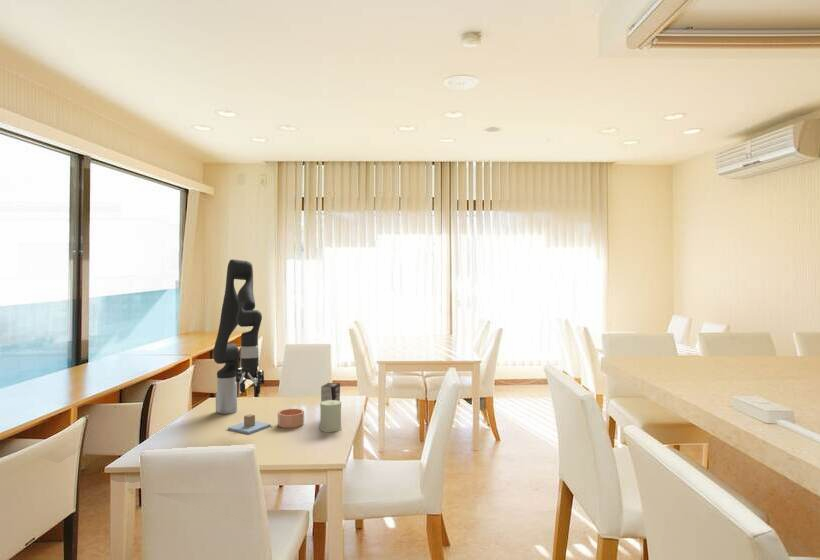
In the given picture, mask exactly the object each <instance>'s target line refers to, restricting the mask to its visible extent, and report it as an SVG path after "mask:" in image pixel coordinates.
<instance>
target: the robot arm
mask: <svg viewBox="0 0 820 560" xmlns="http://www.w3.org/2000/svg"><path fill="white" fill-rule="evenodd" d="M225 278H226V280H225V289H224V294H223V295H224V296H223V302H222V306H221V307H222V308H221V310H220V311H221V313H220V320H219V327H218V331H217V334H216V340H215V343H214V346H213V352H212V357H213V360H214V362H215V363H216V364H219V365H220V364H221V365H222V364H224V366H223V367H222V368H220V369H219V370H217V373H216V392H215V412H216V413H217V414H221V415H229V414H234V413H236V412H237V411H238V385H239V392H240V393H245V392H246V382H247V380H249V381H251V382H252V383H253V384H254V395H259V394H260V393H261V385H264V384H265V373H264V370H262V369H261V370H259V369H258V368H259V365H260V364H259V363H260V362H259V361H260V360H259V358H260V357H259V355H260V352H259V340H258V339H259V331H260V327H261V324H262V320H263V314H262V312H261V311H260V310H258V309H255V308H256V300H255V295H254V268H253V264H252V262H251V261H248V260H241V259H230V260H229V262H228V263H227V270H226V277H225ZM235 280H240V281H245V282H244V284H243V285H242V286H241V287H240V288H239V291H238V292H237V291H236V287H235ZM237 326H239V327H242V328H243V327H244V328H245V327H246V328H247V327H248V328H249V327H252V328H251V330H248V331H244V332H242V333H241V335H240V351H239V347H238V345H237V344H236V343H232V342H230V343H228V342H229V340H230V337H231V335H232V333H233V332H234V331H235V330H236V328H237ZM239 362H240V366H239Z"/></svg>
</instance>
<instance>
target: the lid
mask: <svg viewBox="0 0 820 560" xmlns="http://www.w3.org/2000/svg"><path fill="white" fill-rule="evenodd" d="M270 426H272V425H271V423H267V422H263V421H262V422H261V421H257V420H256V415H255V414H251V413H249V414H246V415H244V416H243V422H240V423H238V424H234V425H231V426H228V427H227V429H228V430H232V431H237V432H241V433H240V434H242V433H246V434H245V435H247V434H251V433H253V434H255V433H254V432H256V431H259V430H261V431H263V430H262V429H264V430H266V429H265V428H267V427H269V428H271V427H270ZM267 429H268V428H267ZM232 431H231V432H232ZM237 432H236V433H237ZM259 432H260V431H259ZM256 433H257V432H256ZM251 435H252V434H251Z"/></svg>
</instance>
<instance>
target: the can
mask: <svg viewBox="0 0 820 560" xmlns="http://www.w3.org/2000/svg"><path fill="white" fill-rule="evenodd" d="M319 404H320V405H319V406H320V408H319V409H320V424H319V425H320V427H319V429H320V431H321V432H325V433H333V432H334V431H335V432H338V431H341V430H342V401H341V400H340V401H338V400H326V401H322V402H321V401H320V403H319ZM340 429H341V430H340Z"/></svg>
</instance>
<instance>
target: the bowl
mask: <svg viewBox="0 0 820 560" xmlns="http://www.w3.org/2000/svg"><path fill="white" fill-rule="evenodd" d="M304 423H305V410H304V409H301V408H287V409H285V408H284V409H282V410H279V411H278V412H277V425H278V427H280V428H283V429H297V428H299V427H302V426H303V425H304Z"/></svg>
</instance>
